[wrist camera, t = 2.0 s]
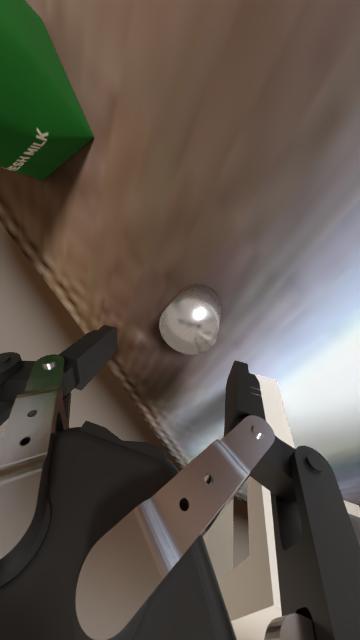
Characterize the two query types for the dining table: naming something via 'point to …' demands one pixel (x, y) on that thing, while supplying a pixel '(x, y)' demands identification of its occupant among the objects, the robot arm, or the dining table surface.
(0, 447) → the robot arm
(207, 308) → the cylinder
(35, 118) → the milk carton
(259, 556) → the trapdoor stand
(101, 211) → the dining table surface
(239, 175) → the dining table surface
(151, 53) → the dining table surface
